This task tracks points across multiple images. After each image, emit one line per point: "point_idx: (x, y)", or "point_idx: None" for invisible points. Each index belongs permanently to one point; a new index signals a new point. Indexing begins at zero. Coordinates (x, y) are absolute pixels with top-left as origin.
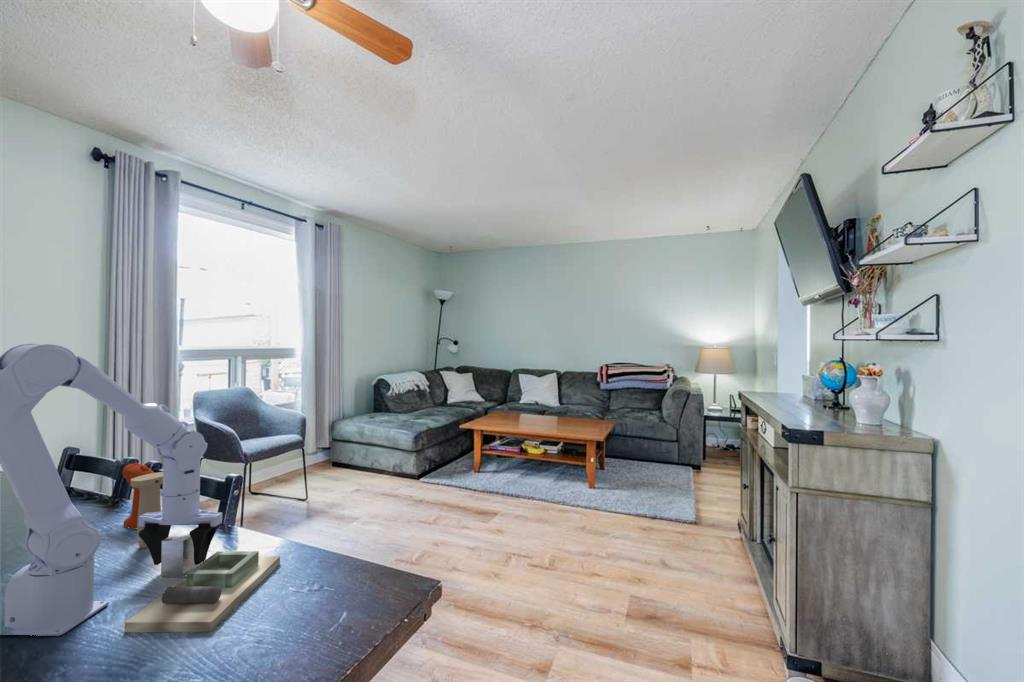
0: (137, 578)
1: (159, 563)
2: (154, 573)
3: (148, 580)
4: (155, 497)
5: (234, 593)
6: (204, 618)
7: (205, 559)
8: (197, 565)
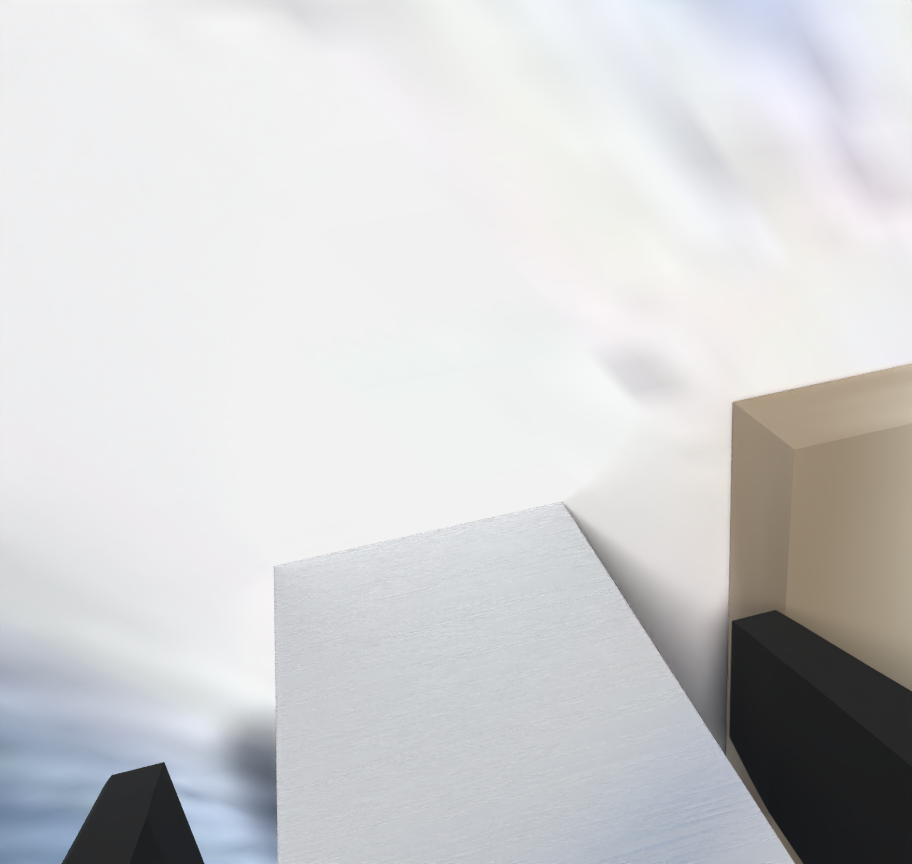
0: (44, 856)
1: (196, 852)
2: (129, 742)
3: (232, 840)
4: None
5: None
6: None
7: (783, 616)
8: (568, 522)
